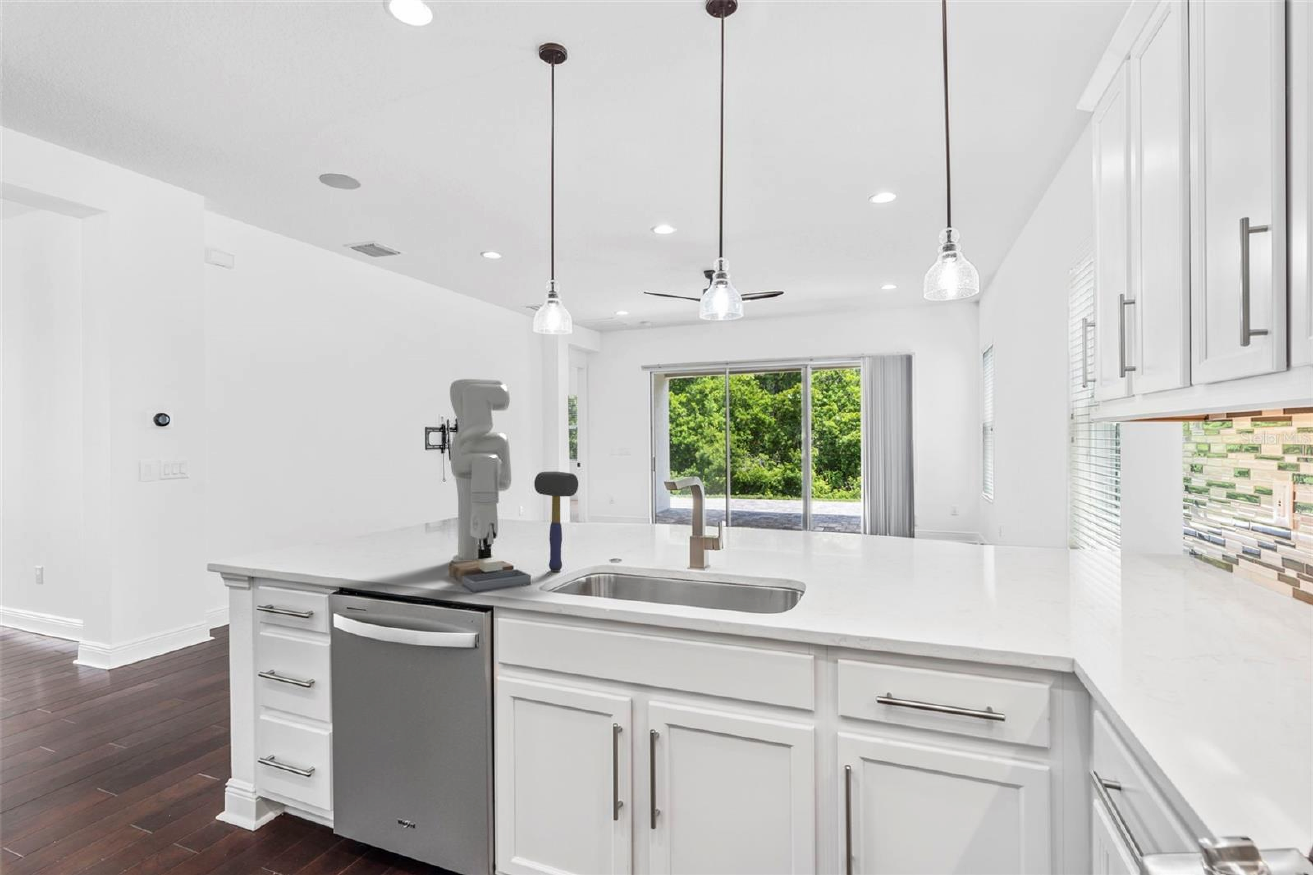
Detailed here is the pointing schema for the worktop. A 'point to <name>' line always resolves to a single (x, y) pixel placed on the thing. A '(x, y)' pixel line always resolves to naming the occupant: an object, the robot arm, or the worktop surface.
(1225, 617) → the worktop surface
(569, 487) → the rubber mallet
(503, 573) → the tray
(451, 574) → the walnut board
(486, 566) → the cream tile
